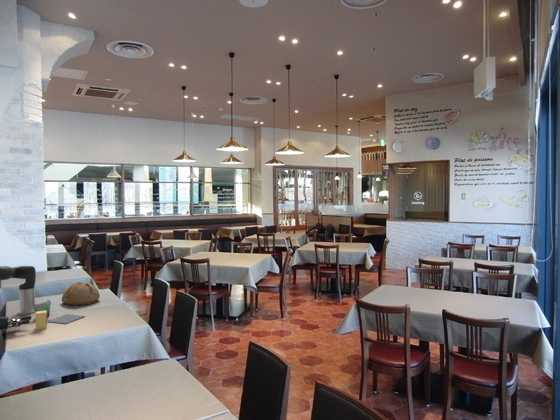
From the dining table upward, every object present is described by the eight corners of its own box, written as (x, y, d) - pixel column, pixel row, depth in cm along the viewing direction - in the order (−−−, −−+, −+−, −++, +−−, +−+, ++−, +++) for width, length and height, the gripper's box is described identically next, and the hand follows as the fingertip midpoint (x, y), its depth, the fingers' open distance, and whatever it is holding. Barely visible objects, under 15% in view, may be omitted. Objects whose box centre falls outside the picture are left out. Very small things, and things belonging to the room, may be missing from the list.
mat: (46, 322, 251) (46, 321, 251) (66, 314, 266) (66, 314, 266) (65, 324, 246) (65, 323, 246) (85, 316, 261) (85, 316, 261)
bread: (55, 304, 295) (54, 285, 294) (81, 297, 316) (81, 279, 316) (79, 307, 284) (79, 287, 284) (105, 300, 306) (104, 281, 305)
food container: (41, 319, 256) (41, 305, 255) (33, 319, 257) (33, 304, 257) (55, 314, 268) (55, 300, 267) (48, 314, 269) (48, 299, 269)
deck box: (36, 327, 240) (36, 311, 240) (47, 326, 243) (46, 310, 243) (35, 329, 236) (35, 313, 236) (46, 328, 239) (46, 312, 239)
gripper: (-5, 320, 223) (28, 316, 230) (0, 314, 236) (31, 310, 243) (-4, 333, 223) (29, 329, 231) (0, 326, 236) (32, 322, 243)
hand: (30, 319), depth 237 cm, fingers open, 8 cm apart
